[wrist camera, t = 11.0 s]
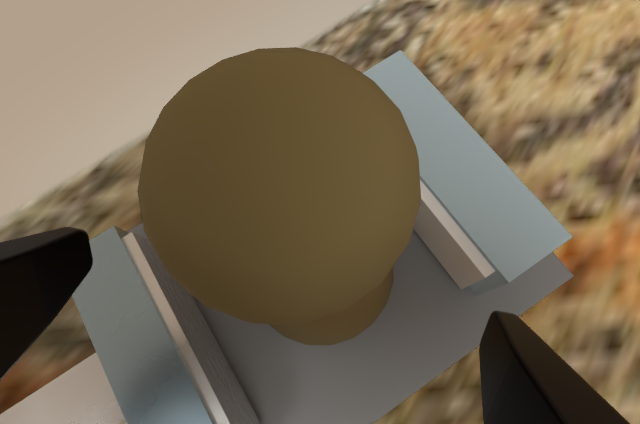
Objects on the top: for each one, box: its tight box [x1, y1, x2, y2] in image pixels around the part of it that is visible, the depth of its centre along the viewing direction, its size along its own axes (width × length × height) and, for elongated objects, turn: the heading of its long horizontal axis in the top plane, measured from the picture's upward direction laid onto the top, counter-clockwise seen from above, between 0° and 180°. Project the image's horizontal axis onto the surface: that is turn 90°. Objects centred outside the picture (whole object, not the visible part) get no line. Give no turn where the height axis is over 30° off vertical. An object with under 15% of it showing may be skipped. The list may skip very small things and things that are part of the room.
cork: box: [138, 48, 421, 346], centre depth 11 cm, size 6×6×11 cm
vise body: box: [127, 50, 573, 424], centre depth 15 cm, size 25×12×4 cm, turn 123°
